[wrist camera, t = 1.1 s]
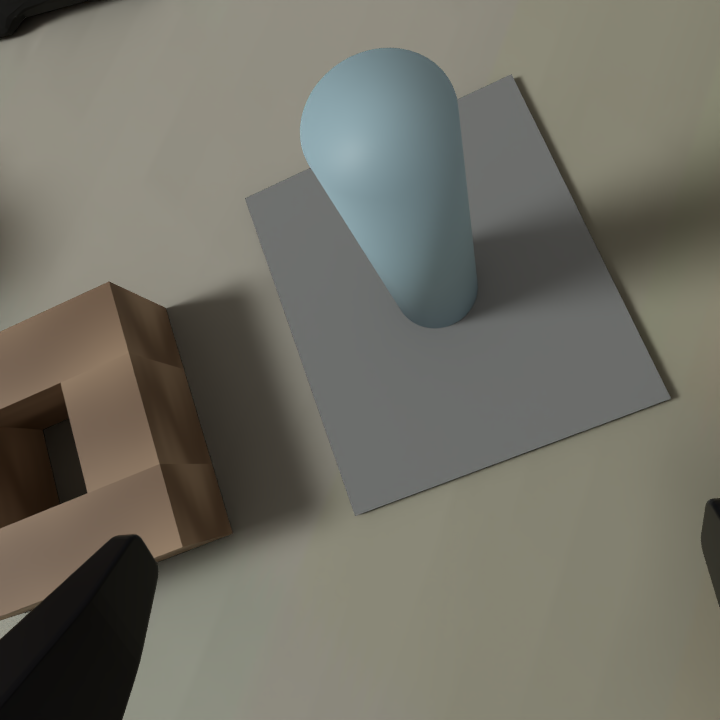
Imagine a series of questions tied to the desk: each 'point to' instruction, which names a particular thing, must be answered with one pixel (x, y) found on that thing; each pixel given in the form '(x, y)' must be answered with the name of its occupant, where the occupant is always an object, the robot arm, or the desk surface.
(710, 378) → the desk surface
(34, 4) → the electric trimmer
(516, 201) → the mat
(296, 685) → the desk surface
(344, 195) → the peg
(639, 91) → the desk surface
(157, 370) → the hole block
